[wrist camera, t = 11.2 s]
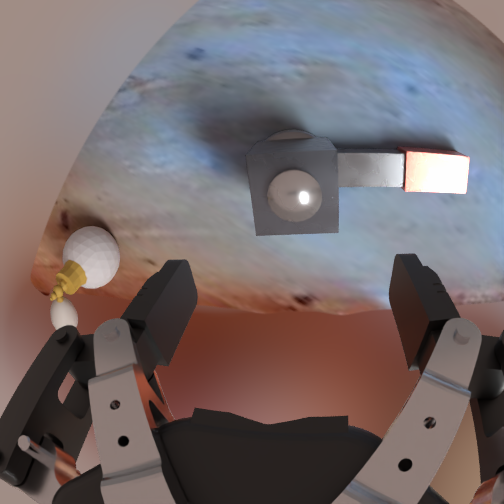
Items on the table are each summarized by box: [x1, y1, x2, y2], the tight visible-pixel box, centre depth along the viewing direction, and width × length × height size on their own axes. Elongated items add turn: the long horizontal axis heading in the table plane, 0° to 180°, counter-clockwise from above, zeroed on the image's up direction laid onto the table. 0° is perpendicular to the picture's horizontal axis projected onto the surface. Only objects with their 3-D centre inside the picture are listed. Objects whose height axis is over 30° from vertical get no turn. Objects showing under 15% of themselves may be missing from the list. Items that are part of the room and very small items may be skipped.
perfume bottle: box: [50, 226, 120, 330], centre depth 28 cm, size 8×10×12 cm
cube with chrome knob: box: [245, 137, 339, 236], centre depth 20 cm, size 6×6×6 cm
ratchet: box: [265, 129, 469, 193], centre depth 21 cm, size 20×7×6 cm, turn 97°
